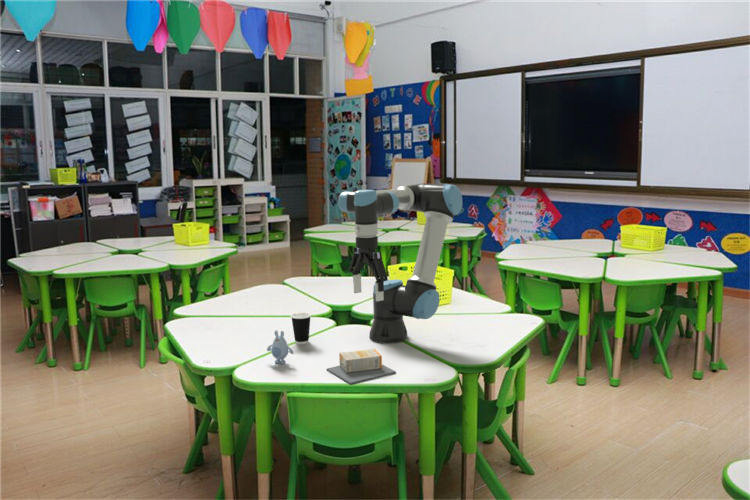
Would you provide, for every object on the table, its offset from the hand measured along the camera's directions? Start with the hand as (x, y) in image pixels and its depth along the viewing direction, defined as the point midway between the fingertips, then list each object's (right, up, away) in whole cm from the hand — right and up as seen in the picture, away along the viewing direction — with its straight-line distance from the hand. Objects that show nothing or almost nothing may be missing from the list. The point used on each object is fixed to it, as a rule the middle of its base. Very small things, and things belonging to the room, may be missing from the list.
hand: (368, 296), depth 223 cm
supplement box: (+4, -22, +3) cm, 22 cm away
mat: (-3, -26, -1) cm, 26 cm away
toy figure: (-32, -25, +9) cm, 41 cm away
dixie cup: (-26, -20, +32) cm, 46 cm away
